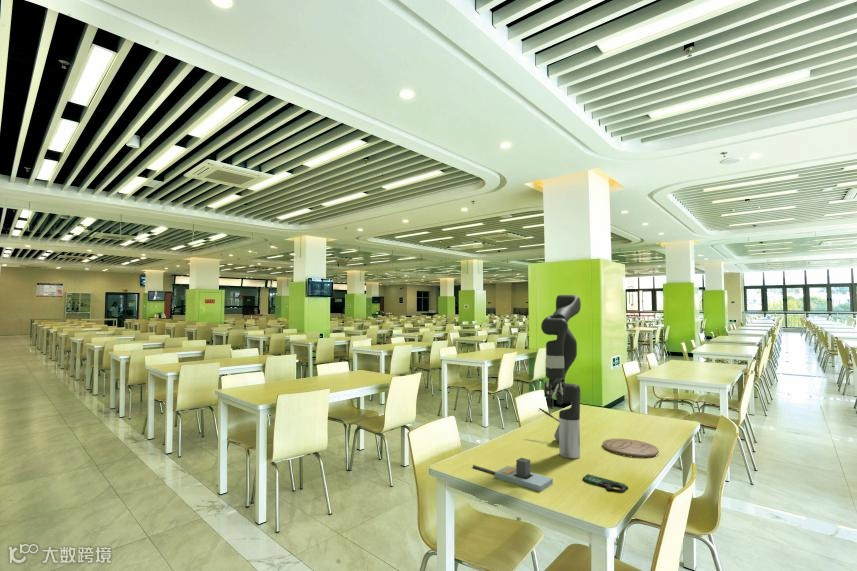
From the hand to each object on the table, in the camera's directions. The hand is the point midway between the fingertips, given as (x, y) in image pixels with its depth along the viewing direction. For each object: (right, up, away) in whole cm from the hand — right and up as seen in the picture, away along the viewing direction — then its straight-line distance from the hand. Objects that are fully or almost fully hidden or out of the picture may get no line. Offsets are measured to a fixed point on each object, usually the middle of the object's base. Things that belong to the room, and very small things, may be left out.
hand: (555, 405), depth 175 cm
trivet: (+47, -32, +34) cm, 66 cm away
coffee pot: (+15, -32, +47) cm, 59 cm away
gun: (+16, -28, -11) cm, 34 cm away
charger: (-15, -28, -8) cm, 32 cm away
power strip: (-20, -28, -3) cm, 34 cm away
